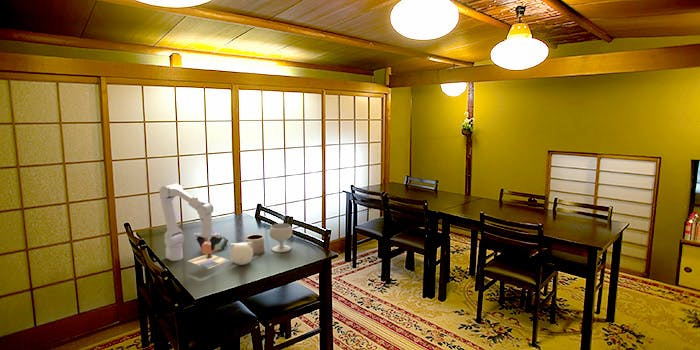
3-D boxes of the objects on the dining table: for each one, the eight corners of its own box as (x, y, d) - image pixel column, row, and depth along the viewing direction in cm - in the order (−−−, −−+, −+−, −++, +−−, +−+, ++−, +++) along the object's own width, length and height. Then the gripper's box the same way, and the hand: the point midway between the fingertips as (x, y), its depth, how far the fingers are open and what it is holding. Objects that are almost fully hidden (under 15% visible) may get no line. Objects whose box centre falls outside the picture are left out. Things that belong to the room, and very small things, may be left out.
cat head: (227, 270, 204) (226, 248, 202) (228, 261, 216) (227, 240, 214) (256, 267, 208) (255, 245, 206) (255, 258, 221) (254, 238, 219)
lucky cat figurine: (224, 253, 228) (211, 236, 222) (207, 260, 230) (194, 243, 224) (231, 238, 241) (219, 222, 236) (215, 245, 243) (202, 228, 238)
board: (187, 263, 214) (186, 256, 213) (208, 255, 225) (208, 249, 225) (208, 270, 204) (208, 264, 203) (229, 262, 215) (229, 255, 214)
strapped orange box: (206, 250, 211) (205, 241, 211) (214, 250, 211) (214, 241, 210) (201, 253, 206) (201, 244, 206) (210, 253, 206) (210, 244, 205)
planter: (242, 253, 229) (241, 237, 228) (256, 247, 238) (255, 233, 236) (254, 256, 223) (254, 241, 222) (268, 251, 232) (267, 236, 231)
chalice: (265, 251, 232) (264, 227, 230) (279, 244, 244) (278, 221, 242) (283, 255, 226) (282, 230, 223) (297, 247, 238) (296, 224, 235)
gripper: (189, 228, 202) (191, 252, 205) (216, 228, 201) (218, 252, 204) (196, 224, 209) (197, 247, 212) (221, 224, 208) (223, 248, 211)
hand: (208, 249), depth 208 cm, fingers closed on strapped orange box, 5 cm apart
